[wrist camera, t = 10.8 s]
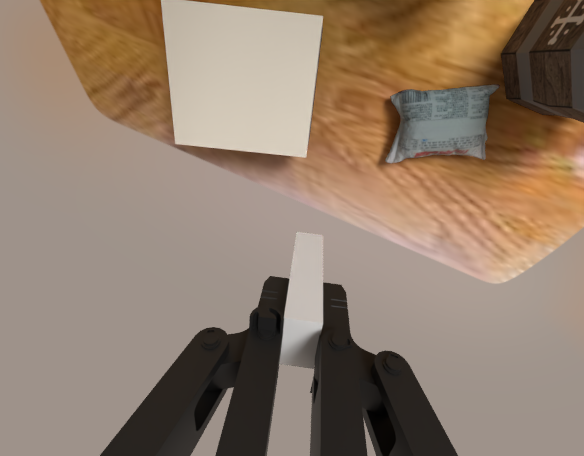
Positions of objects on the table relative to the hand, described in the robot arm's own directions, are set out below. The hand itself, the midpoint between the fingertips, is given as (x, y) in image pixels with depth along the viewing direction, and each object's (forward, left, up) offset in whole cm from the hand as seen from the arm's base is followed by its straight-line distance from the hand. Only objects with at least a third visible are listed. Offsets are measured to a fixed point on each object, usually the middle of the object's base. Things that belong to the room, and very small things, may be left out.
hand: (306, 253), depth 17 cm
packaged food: (-4, +15, -27) cm, 31 cm away
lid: (-7, -8, -18) cm, 21 cm away
